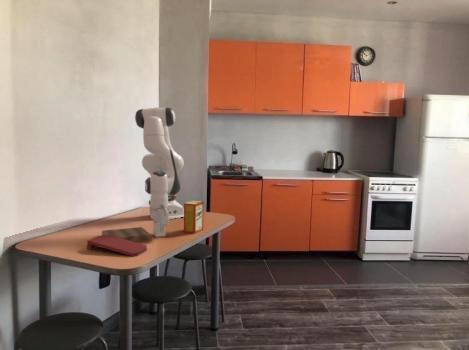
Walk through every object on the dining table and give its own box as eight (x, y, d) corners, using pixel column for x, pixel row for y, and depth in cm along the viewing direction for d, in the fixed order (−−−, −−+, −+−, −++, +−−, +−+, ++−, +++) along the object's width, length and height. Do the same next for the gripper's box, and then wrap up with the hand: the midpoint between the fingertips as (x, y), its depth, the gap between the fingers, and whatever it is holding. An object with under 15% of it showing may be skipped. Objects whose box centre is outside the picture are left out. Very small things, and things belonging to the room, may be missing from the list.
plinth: (141, 232, 212) (141, 227, 212) (150, 240, 198) (150, 234, 198) (102, 236, 203) (101, 230, 203) (108, 244, 189) (108, 238, 189)
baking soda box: (194, 233, 213) (195, 203, 212) (183, 232, 216) (184, 202, 214) (202, 229, 222) (203, 200, 220) (192, 228, 225) (192, 199, 223)
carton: (147, 256, 184) (100, 242, 191) (149, 246, 184) (101, 232, 190) (133, 264, 173) (83, 249, 179) (135, 253, 172) (85, 239, 178)
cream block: (162, 233, 212) (162, 222, 211) (165, 235, 208) (165, 224, 207) (153, 234, 210) (153, 223, 209) (156, 236, 205) (156, 225, 205)
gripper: (172, 206, 199) (171, 234, 201) (159, 200, 217) (159, 225, 219) (159, 207, 196) (159, 235, 198) (147, 200, 214) (147, 226, 216)
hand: (159, 230), depth 208 cm, fingers open, 8 cm apart
